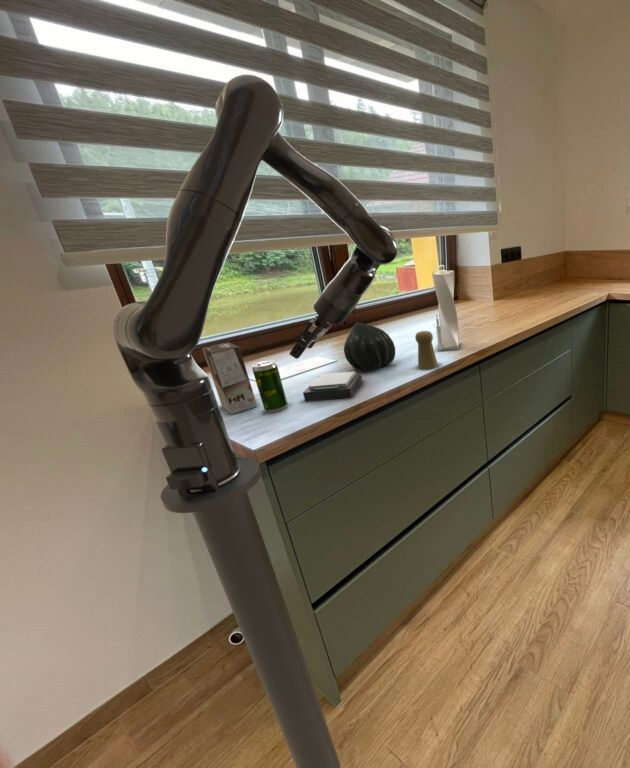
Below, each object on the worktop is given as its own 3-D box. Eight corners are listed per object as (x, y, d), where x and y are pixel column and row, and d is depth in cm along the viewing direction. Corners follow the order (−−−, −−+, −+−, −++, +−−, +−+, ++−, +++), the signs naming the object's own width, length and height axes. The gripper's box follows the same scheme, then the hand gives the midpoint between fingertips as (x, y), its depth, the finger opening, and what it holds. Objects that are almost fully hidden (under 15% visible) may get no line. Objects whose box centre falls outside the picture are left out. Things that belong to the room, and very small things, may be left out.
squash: (403, 351, 129) (384, 311, 133) (354, 365, 122) (335, 321, 125) (397, 372, 141) (380, 334, 145) (352, 385, 134) (335, 345, 137)
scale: (351, 397, 112) (349, 385, 111) (305, 401, 111) (301, 389, 110) (362, 381, 123) (360, 369, 122) (320, 385, 122) (317, 373, 121)
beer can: (284, 402, 111) (272, 358, 107) (291, 407, 108) (278, 362, 103) (262, 408, 108) (248, 364, 104) (268, 414, 104) (254, 368, 100)
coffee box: (258, 406, 110) (240, 346, 104) (231, 415, 106) (210, 353, 100) (247, 398, 116) (229, 341, 110) (220, 406, 112) (200, 347, 106)
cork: (415, 369, 130) (410, 334, 126) (422, 363, 136) (417, 329, 132) (434, 369, 129) (429, 334, 125) (440, 362, 135) (436, 329, 131)
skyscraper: (439, 344, 155) (429, 265, 145) (461, 342, 156) (453, 263, 145) (438, 351, 147) (427, 267, 137) (461, 349, 148) (453, 266, 138)
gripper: (333, 285, 105) (297, 334, 109) (313, 294, 92) (273, 349, 95) (359, 305, 107) (323, 352, 111) (343, 317, 94) (303, 370, 98)
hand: (300, 351), depth 103 cm, fingers open, 8 cm apart
